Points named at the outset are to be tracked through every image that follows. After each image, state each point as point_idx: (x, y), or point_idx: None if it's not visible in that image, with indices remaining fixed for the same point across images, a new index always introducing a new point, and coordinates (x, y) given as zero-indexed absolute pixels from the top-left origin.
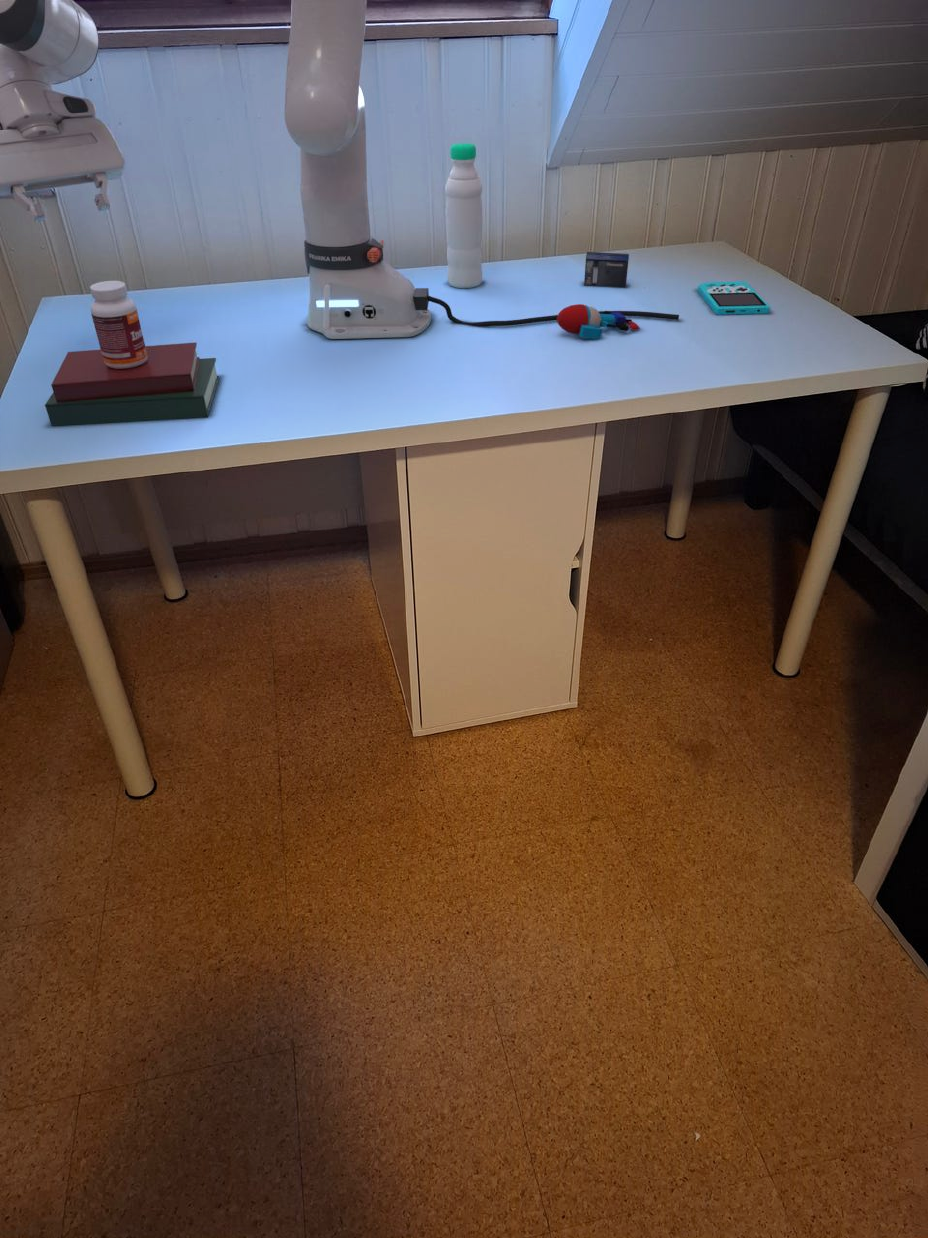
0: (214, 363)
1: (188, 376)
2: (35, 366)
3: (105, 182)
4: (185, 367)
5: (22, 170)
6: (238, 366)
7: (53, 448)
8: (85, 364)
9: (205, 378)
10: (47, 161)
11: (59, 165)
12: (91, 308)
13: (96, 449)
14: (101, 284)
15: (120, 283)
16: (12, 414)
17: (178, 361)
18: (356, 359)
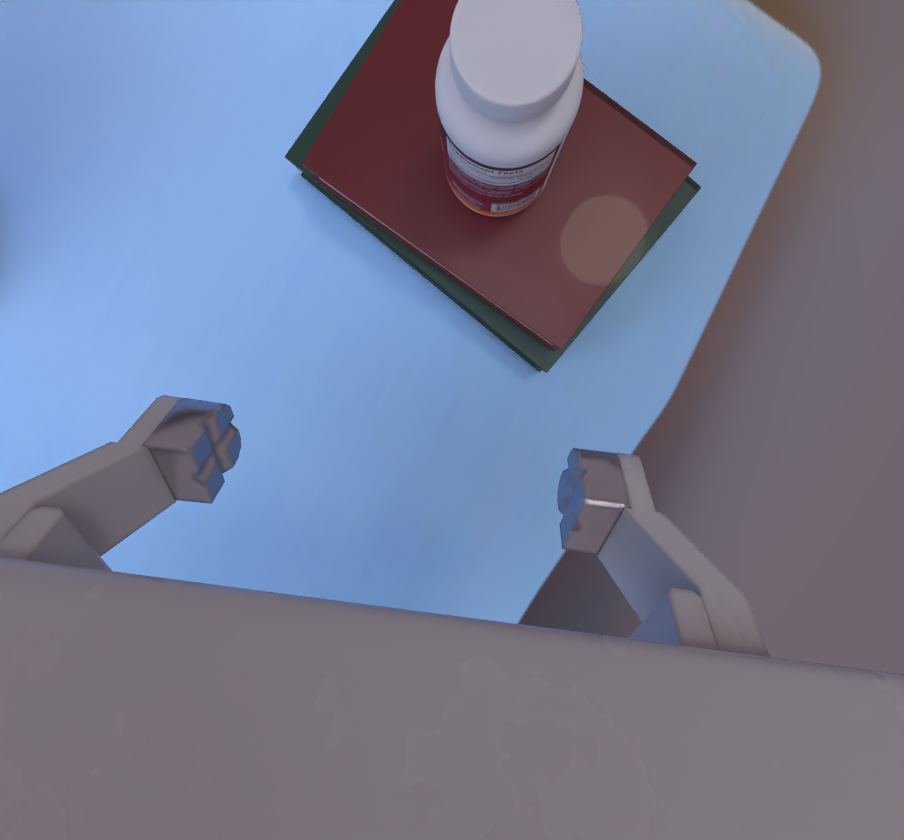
0: (304, 130)
1: None
2: (549, 537)
3: (30, 486)
4: (412, 11)
5: (696, 756)
6: (238, 204)
7: (728, 94)
8: (574, 231)
9: (370, 49)
10: (366, 795)
11: (269, 694)
12: (580, 92)
13: (674, 20)
14: (526, 66)
15: (467, 20)
16: (702, 324)
17: (403, 69)
18: (15, 28)
